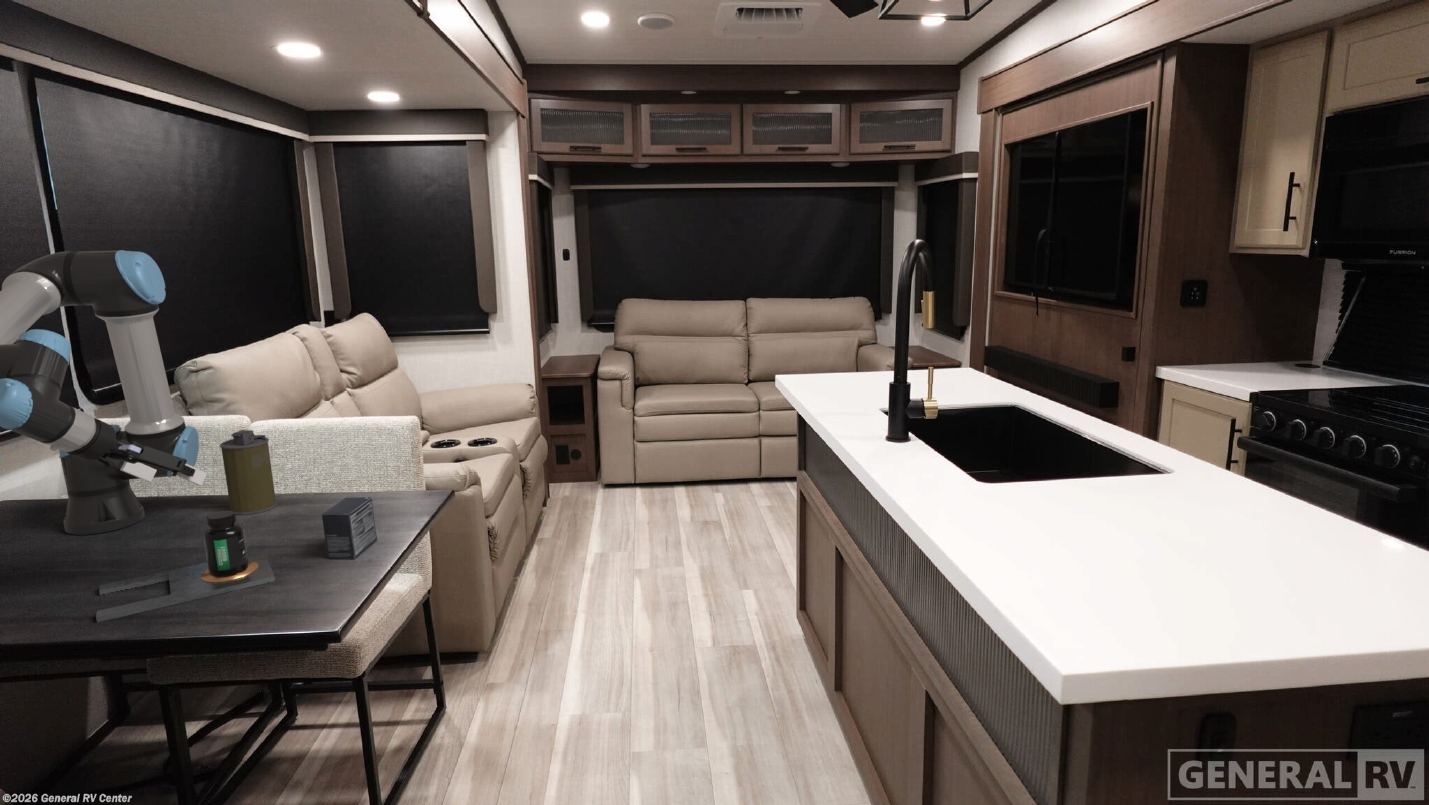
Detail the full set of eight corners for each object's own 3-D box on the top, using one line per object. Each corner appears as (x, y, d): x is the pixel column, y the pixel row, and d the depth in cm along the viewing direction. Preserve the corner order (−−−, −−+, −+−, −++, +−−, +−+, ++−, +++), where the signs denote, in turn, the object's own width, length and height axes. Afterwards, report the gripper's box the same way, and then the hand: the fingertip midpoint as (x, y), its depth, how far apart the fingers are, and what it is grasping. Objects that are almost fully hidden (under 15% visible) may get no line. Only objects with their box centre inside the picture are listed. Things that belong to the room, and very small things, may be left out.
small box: (350, 540, 173) (345, 496, 171) (378, 540, 173) (373, 496, 171) (325, 559, 163) (319, 513, 160) (355, 560, 163) (350, 513, 160)
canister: (255, 516, 187) (244, 437, 183) (219, 513, 189) (207, 435, 185) (288, 501, 198) (278, 426, 193) (253, 498, 200) (243, 424, 195)
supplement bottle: (230, 579, 151) (221, 522, 148) (200, 576, 152) (191, 519, 149) (257, 565, 157) (249, 509, 155) (228, 562, 158) (220, 507, 156)
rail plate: (97, 622, 136) (95, 616, 136) (100, 589, 149) (99, 584, 149) (275, 581, 153) (274, 575, 152) (264, 554, 165) (264, 549, 165)
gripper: (20, 450, 142) (123, 491, 160) (120, 456, 135) (216, 498, 153) (42, 414, 145) (140, 458, 163) (140, 418, 138) (232, 463, 156)
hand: (177, 477), depth 158 cm, fingers open, 13 cm apart
